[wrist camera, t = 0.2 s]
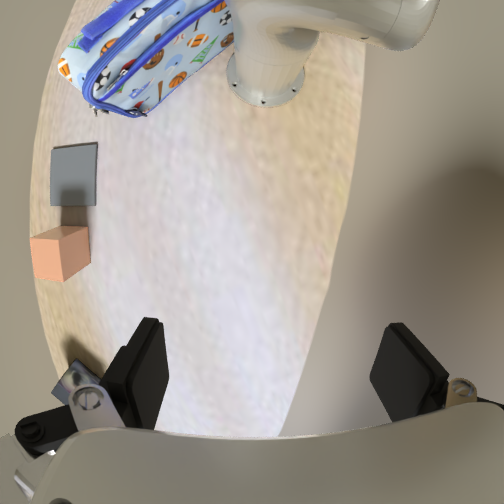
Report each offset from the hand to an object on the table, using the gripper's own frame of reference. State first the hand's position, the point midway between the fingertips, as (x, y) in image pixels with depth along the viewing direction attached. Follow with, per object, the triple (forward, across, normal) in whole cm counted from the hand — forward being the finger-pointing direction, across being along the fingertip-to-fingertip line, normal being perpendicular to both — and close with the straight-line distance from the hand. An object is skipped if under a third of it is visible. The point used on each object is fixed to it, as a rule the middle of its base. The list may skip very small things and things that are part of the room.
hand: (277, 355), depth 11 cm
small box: (+37, +38, +40) cm, 67 cm away
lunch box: (+37, +14, -26) cm, 47 cm away
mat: (+37, +33, -7) cm, 50 cm away
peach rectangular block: (+37, +34, +6) cm, 50 cm away
